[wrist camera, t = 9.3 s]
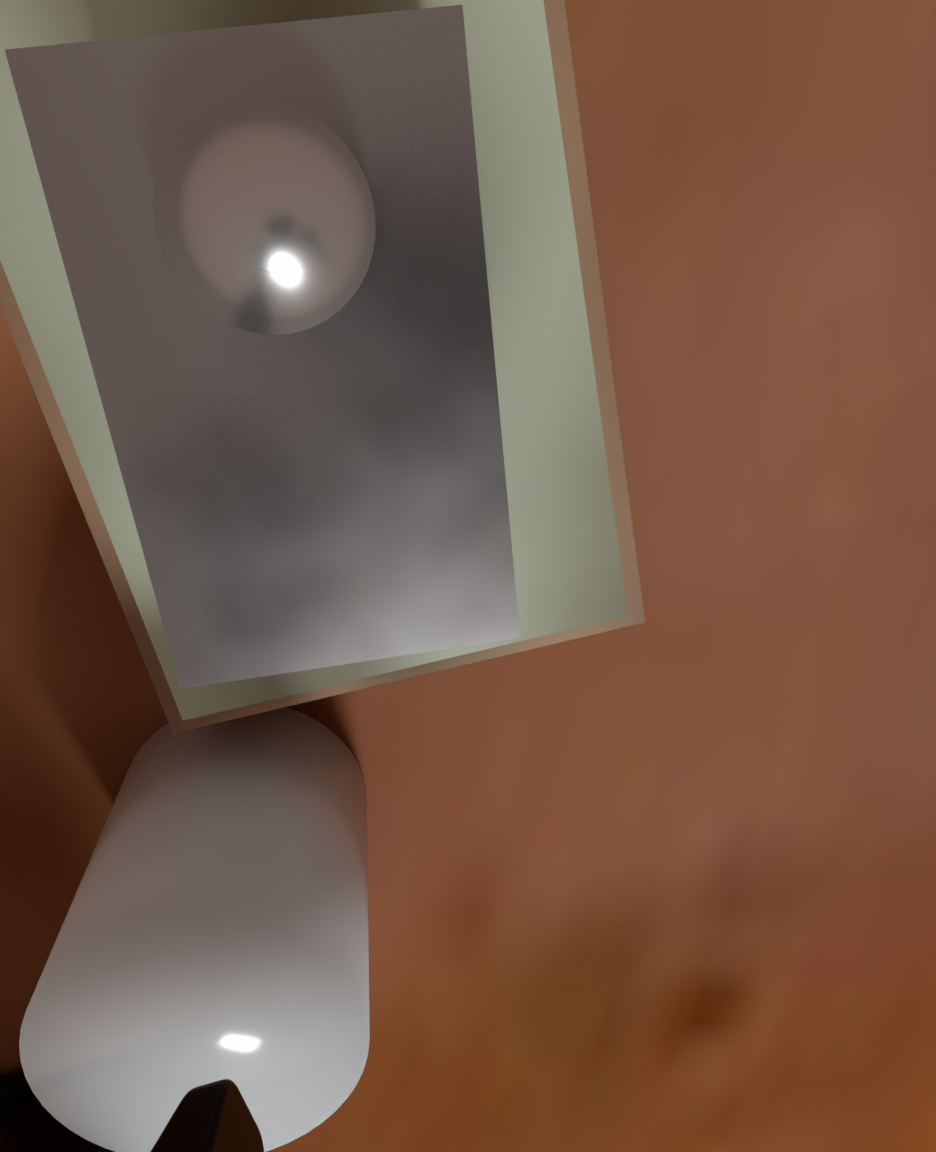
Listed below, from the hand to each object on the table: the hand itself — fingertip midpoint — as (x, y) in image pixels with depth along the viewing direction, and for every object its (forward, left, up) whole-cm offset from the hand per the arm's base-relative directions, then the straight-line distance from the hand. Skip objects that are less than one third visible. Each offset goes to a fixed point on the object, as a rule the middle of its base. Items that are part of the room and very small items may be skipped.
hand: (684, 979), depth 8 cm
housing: (-3, +6, -9) cm, 11 cm away
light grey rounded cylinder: (-7, -5, -12) cm, 15 cm away
